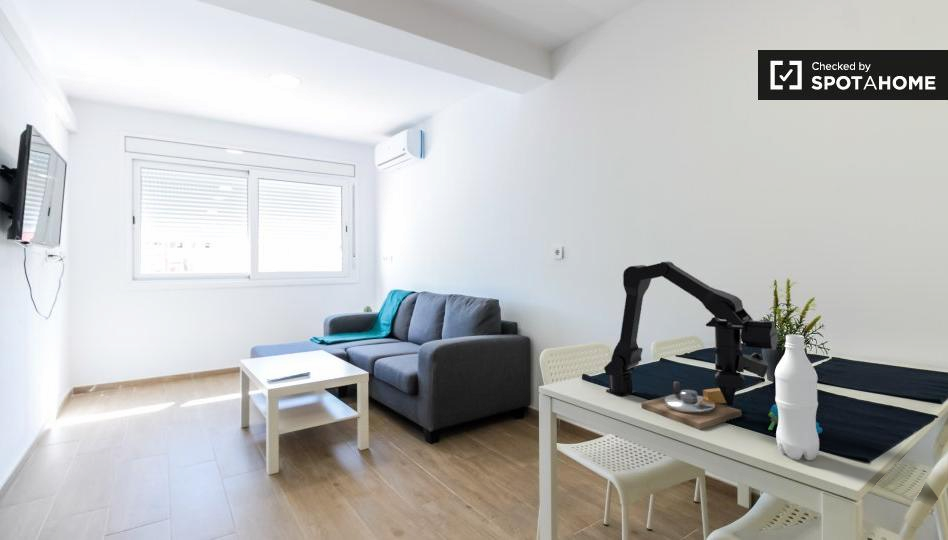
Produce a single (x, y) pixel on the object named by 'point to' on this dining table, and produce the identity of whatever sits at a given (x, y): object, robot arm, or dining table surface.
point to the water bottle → (796, 401)
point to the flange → (695, 401)
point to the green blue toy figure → (775, 419)
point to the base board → (693, 420)
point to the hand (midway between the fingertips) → (729, 404)
